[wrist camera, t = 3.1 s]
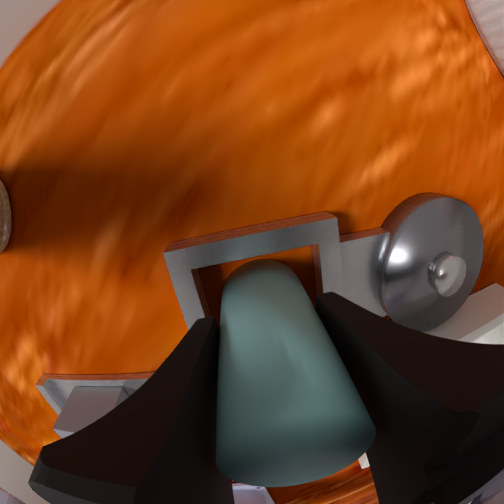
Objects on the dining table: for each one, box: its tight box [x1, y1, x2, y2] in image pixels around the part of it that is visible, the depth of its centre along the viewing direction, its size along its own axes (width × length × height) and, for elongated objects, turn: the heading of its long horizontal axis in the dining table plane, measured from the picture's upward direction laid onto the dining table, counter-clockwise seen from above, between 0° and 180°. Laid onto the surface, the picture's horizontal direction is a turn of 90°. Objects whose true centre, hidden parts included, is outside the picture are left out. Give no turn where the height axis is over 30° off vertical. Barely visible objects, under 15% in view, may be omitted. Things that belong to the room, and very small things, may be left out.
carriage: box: [53, 387, 128, 438], centre depth 11 cm, size 4×4×4 cm
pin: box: [216, 259, 376, 487], centre depth 8 cm, size 3×3×8 cm
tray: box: [358, 283, 504, 469], centre depth 13 cm, size 11×11×3 cm
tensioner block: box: [163, 193, 484, 332], centre depth 10 cm, size 6×14×2 cm, turn 101°
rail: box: [36, 372, 155, 415], centre depth 13 cm, size 5×15×1 cm, turn 101°
